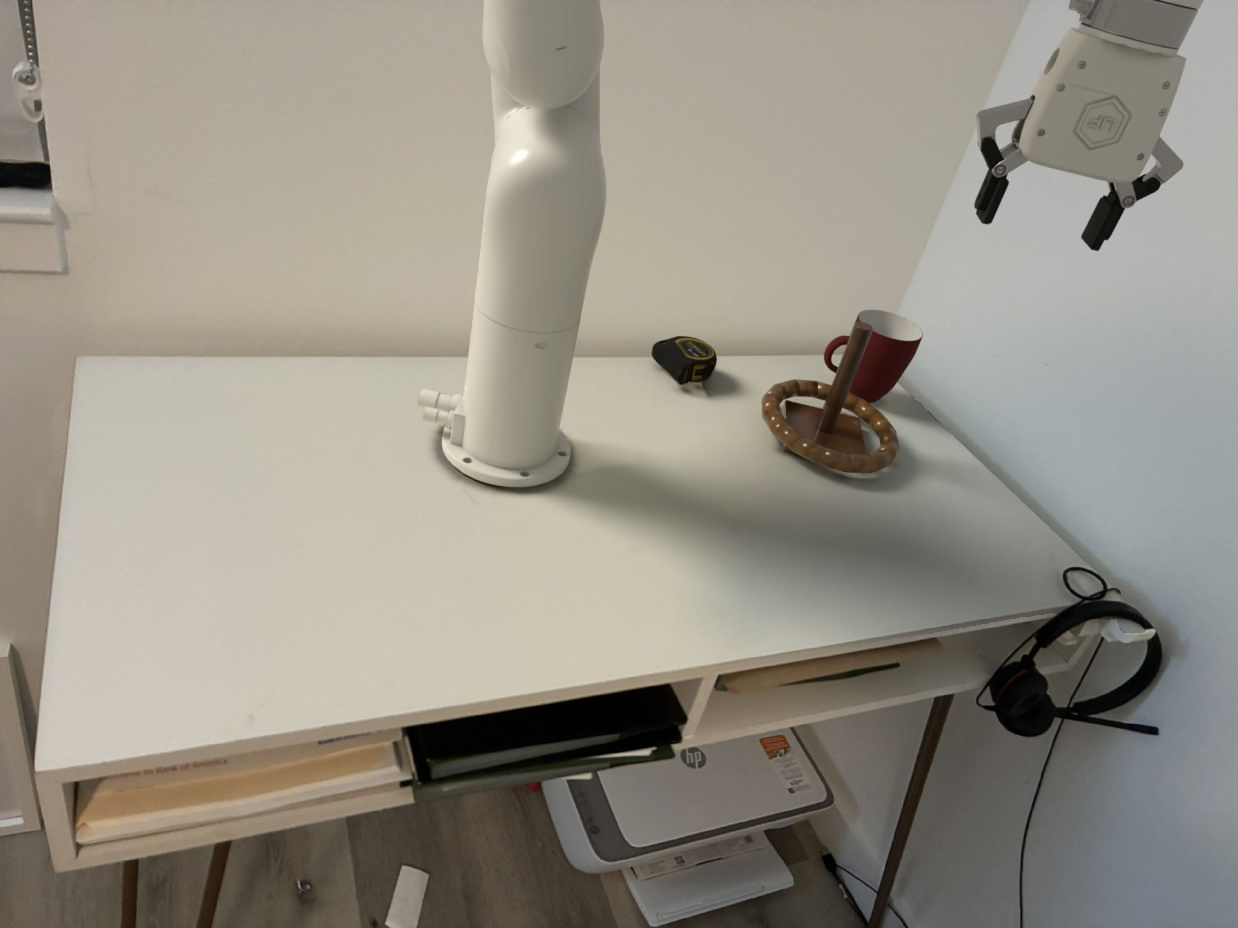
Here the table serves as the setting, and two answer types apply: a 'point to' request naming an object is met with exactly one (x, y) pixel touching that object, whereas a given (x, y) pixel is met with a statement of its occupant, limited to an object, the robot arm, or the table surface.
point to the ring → (817, 451)
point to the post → (834, 404)
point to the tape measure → (685, 358)
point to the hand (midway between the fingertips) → (1035, 232)
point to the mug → (880, 353)
